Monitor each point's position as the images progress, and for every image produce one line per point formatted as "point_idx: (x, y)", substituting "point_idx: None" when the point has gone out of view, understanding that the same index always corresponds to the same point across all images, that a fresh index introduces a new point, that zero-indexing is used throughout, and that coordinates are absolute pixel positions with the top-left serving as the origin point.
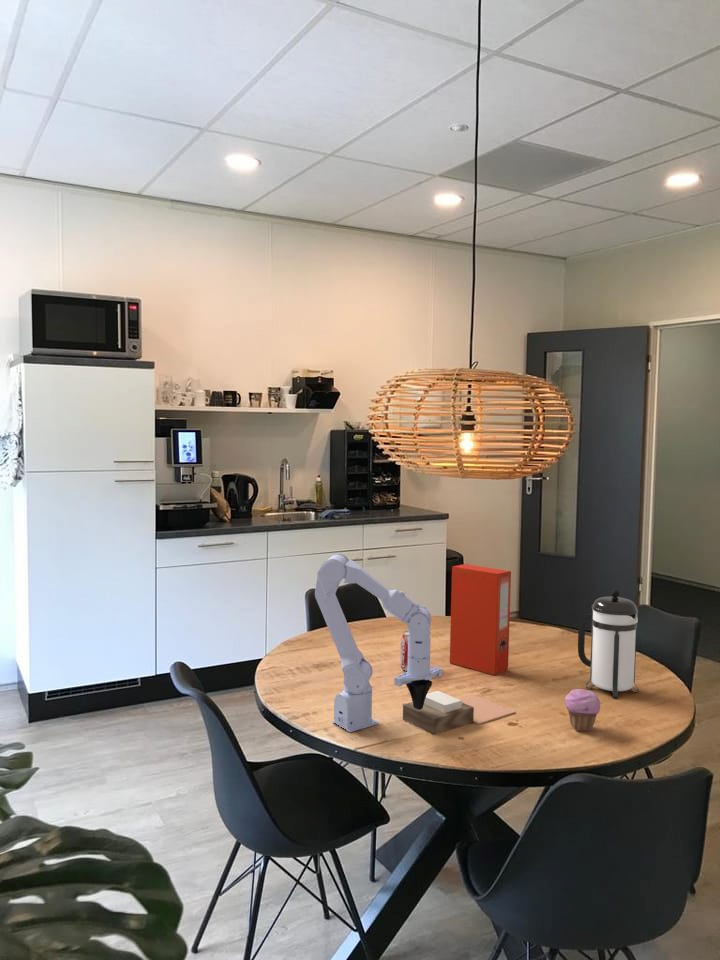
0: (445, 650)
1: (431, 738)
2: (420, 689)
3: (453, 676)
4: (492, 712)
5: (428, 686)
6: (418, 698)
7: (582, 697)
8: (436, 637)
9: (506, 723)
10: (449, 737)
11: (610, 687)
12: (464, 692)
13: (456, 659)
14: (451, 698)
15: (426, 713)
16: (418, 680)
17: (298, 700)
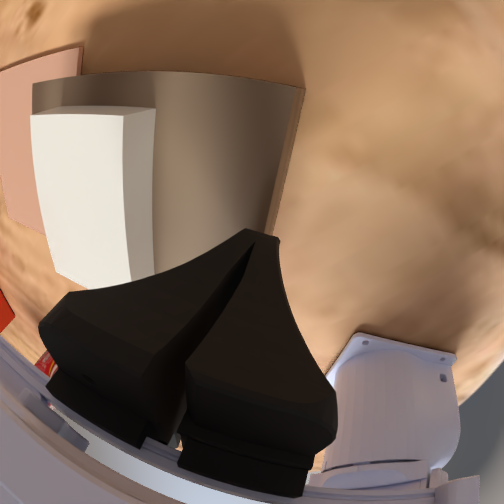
0: (14, 332)
1: (352, 75)
2: (279, 360)
3: (18, 293)
4: (17, 99)
5: (121, 314)
6: (284, 292)
7: None
8: (18, 349)
9: (38, 21)
10: (272, 16)
11: None
12: (18, 241)
13: (4, 311)
14: (45, 169)
15: (245, 187)
16: (199, 466)
17: (320, 452)
